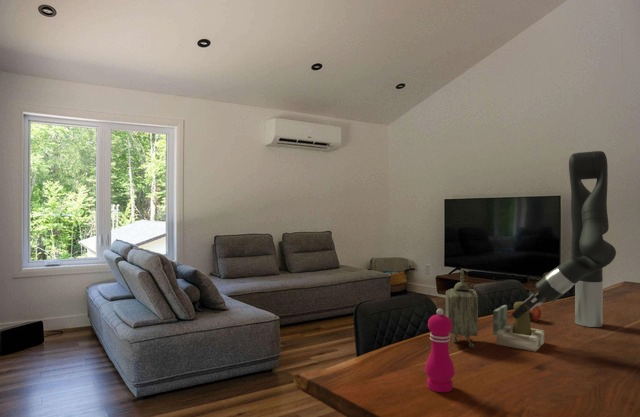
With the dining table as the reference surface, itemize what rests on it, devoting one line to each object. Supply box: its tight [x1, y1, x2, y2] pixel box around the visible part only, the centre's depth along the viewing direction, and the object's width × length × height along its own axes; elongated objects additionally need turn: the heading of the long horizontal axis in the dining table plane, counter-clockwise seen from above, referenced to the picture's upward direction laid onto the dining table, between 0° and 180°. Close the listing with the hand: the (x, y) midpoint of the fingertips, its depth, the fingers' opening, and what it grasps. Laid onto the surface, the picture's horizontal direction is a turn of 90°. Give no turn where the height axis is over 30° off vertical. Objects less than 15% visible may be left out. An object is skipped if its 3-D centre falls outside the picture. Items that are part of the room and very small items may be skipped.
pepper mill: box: [424, 308, 456, 393], centre depth 114 cm, size 7×7×20 cm
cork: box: [512, 301, 532, 336], centre depth 150 cm, size 6×6×11 cm
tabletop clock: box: [445, 268, 479, 349], centre depth 151 cm, size 14×9×25 cm, turn 168°
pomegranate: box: [529, 305, 542, 322], centre depth 181 cm, size 7×7×10 cm
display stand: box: [492, 304, 545, 353], centre depth 151 cm, size 12×13×11 cm
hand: (517, 314), depth 151 cm, fingers open, 8 cm apart
